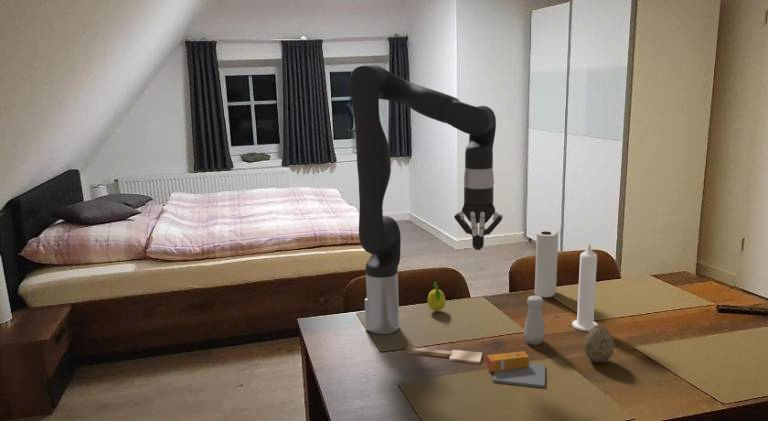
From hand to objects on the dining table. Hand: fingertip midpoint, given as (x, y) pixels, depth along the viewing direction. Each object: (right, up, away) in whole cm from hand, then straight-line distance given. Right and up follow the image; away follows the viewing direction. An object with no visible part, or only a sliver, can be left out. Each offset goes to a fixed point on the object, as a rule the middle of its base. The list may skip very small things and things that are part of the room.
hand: (478, 249), depth 153 cm
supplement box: (+1, -28, -10) cm, 30 cm away
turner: (-9, -28, 0) cm, 30 cm away
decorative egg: (+30, -28, -6) cm, 41 cm away
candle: (+33, -24, +14) cm, 43 cm away
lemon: (-9, -22, +28) cm, 36 cm away
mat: (+8, -30, -11) cm, 33 cm away
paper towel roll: (+29, -18, +39) cm, 52 cm away
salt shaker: (+16, -26, +6) cm, 31 cm away
